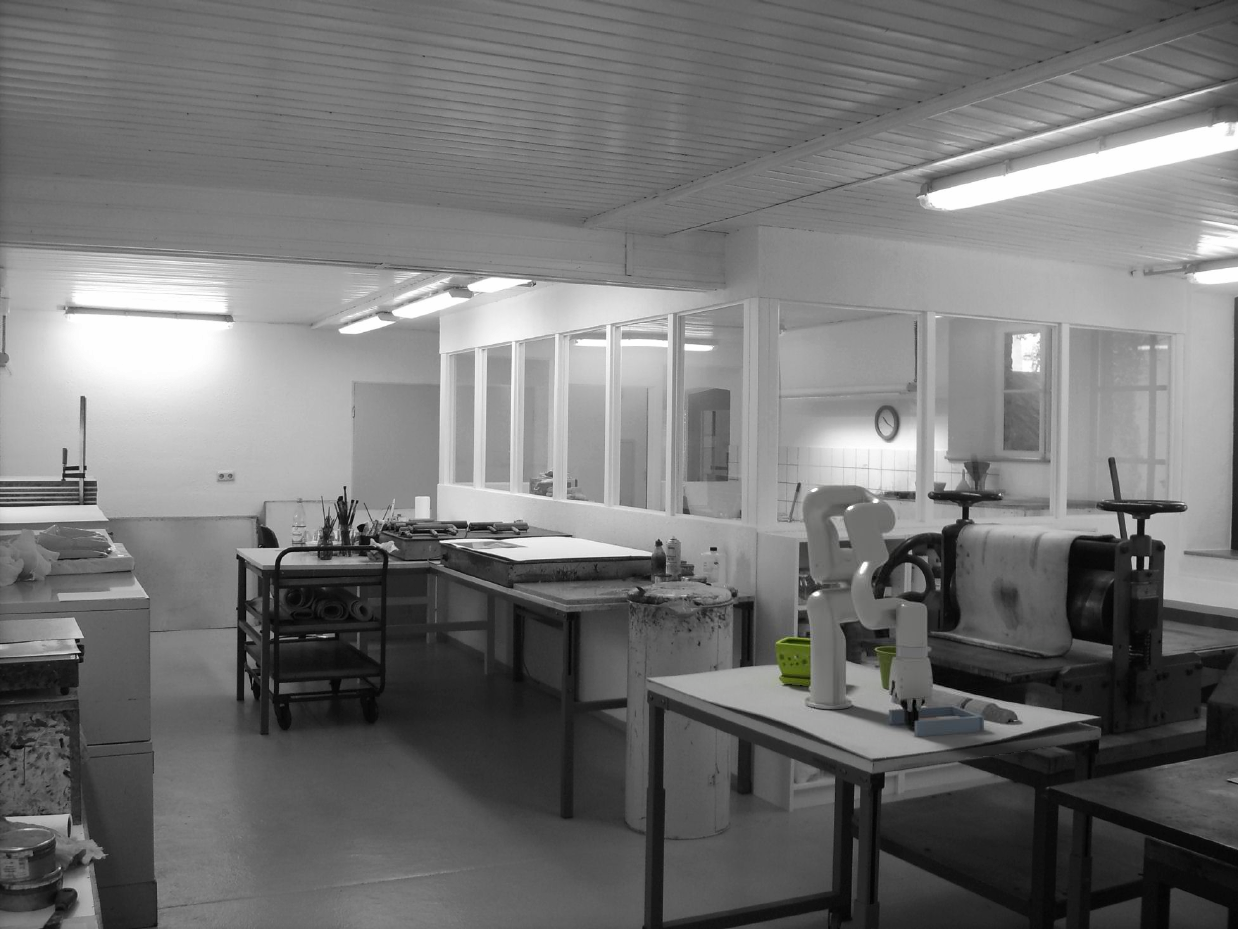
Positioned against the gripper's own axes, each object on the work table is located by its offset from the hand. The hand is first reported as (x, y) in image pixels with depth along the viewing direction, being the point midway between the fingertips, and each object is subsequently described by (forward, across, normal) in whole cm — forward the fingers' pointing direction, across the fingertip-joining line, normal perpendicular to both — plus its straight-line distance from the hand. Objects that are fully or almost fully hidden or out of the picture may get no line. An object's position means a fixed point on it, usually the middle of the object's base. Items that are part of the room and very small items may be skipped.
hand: (911, 726), depth 265 cm
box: (+1, -7, 0) cm, 7 cm away
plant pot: (+1, -22, -44) cm, 49 cm away
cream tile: (+1, -11, +1) cm, 11 cm away
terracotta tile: (+1, -5, +2) cm, 5 cm away
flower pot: (+1, +1, -58) cm, 58 cm away
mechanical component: (+2, -24, -14) cm, 27 cm away
